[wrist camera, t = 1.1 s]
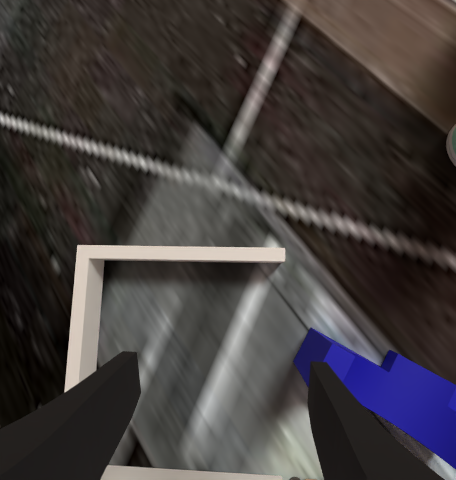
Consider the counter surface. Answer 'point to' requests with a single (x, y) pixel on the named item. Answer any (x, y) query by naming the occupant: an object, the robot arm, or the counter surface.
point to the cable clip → (391, 391)
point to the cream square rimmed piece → (88, 322)
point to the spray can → (452, 144)
